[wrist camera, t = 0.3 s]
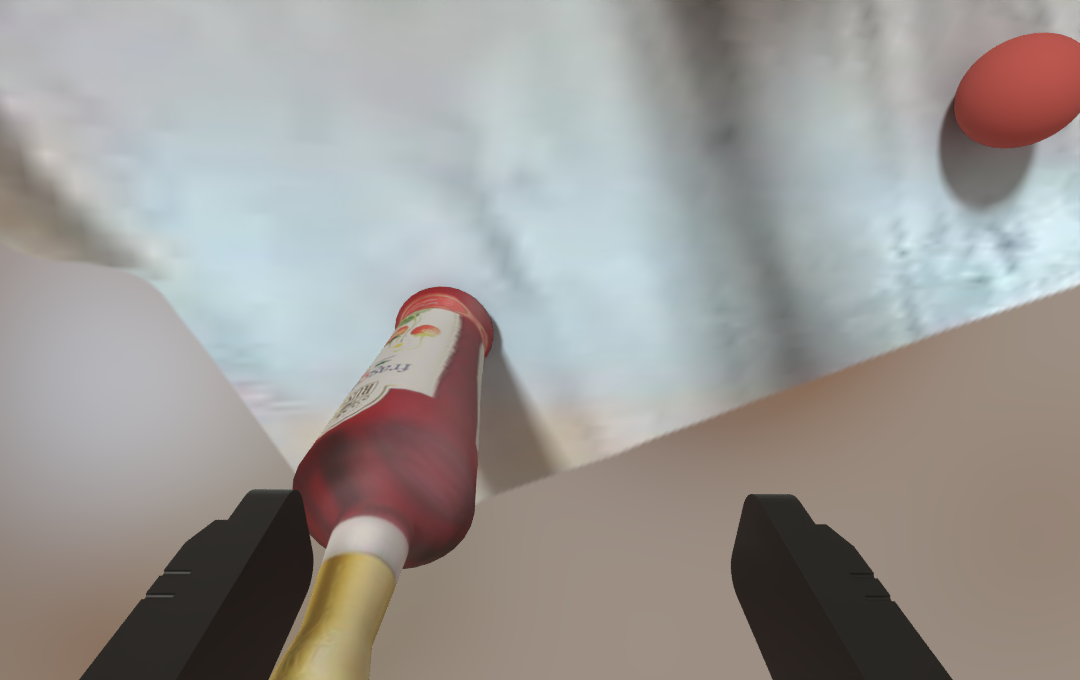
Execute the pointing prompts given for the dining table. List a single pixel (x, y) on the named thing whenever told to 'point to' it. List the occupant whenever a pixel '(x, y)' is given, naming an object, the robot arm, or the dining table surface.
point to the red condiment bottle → (391, 478)
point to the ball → (1020, 91)
